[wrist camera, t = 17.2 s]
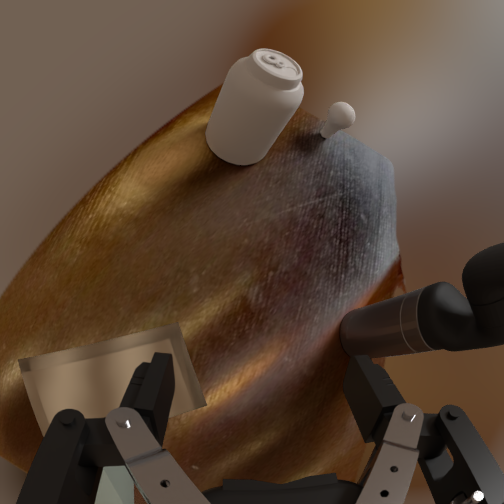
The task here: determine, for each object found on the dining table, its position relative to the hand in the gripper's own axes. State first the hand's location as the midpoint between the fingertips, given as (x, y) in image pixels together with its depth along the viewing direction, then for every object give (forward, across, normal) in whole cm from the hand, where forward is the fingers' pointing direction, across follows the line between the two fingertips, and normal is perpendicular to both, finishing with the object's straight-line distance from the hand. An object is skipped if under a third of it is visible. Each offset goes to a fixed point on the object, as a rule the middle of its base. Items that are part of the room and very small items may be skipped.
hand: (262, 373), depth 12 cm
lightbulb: (+58, -18, -17) cm, 63 cm away
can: (+48, +2, -13) cm, 50 cm away
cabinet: (+15, +15, +22) cm, 31 cm away
